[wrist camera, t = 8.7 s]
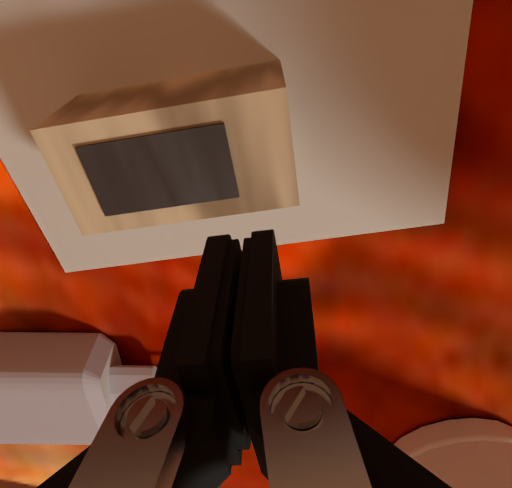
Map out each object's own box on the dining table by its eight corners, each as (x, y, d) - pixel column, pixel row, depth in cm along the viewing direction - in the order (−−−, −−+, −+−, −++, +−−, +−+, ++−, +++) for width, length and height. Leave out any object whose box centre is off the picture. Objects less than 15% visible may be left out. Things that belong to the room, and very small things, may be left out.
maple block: (286, 88, 14) (28, 131, 15) (300, 207, 17) (81, 237, 18) (280, 59, 18) (77, 95, 19) (291, 159, 21) (114, 185, 22)
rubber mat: (484, -139, 15) (491, -142, 15) (440, 218, 24) (443, 223, 24) (-89, -16, 17) (-99, -16, 17) (69, 266, 26) (65, 272, 26)
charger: (193, 398, 36) (25, 397, 35) (184, 327, 30) (-14, 325, 30) (185, 452, 32) (-3, 450, 32) (173, 380, 26) (-54, 378, 26)
